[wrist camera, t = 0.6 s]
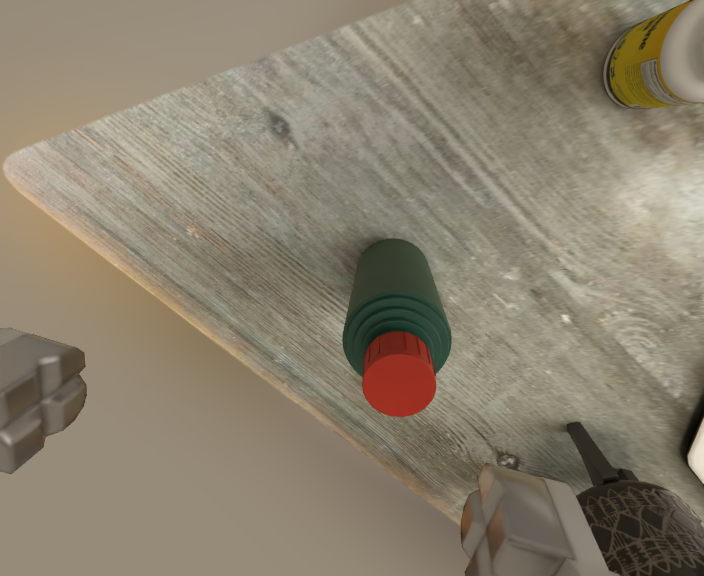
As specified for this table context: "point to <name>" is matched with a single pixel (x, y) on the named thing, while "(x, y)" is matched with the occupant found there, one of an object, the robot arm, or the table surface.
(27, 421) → the robot arm
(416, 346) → the cap
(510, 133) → the table surface
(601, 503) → the planter
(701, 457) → the plate
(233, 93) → the table surface
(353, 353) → the water bottle
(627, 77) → the pill bottle
